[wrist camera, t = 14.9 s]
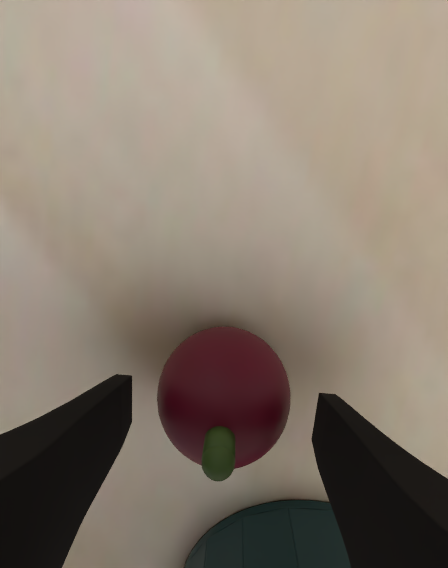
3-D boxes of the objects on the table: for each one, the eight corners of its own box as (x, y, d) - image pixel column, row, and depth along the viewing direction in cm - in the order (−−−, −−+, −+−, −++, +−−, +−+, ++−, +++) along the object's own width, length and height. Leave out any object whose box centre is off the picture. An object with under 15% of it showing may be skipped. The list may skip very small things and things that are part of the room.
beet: (155, 375, 15) (90, 495, 8) (208, 289, 14) (181, 351, 7) (242, 425, 15) (246, 577, 9) (301, 346, 14) (355, 453, 8)
